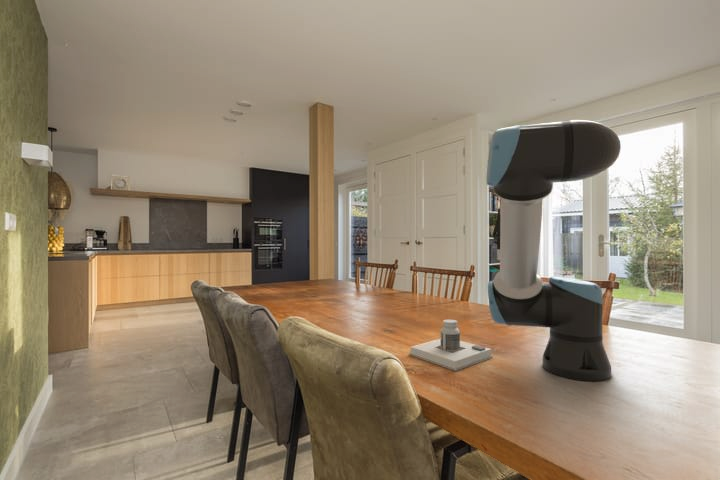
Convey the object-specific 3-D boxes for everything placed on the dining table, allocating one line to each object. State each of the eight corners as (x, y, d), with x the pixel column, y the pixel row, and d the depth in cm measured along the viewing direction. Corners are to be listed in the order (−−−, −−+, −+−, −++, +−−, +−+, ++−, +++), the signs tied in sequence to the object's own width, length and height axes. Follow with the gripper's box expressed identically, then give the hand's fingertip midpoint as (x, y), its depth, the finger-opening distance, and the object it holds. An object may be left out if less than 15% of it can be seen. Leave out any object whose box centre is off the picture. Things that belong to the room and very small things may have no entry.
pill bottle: (463, 354, 105) (463, 320, 105) (453, 359, 101) (453, 324, 101) (447, 350, 109) (447, 317, 109) (436, 354, 105) (436, 321, 105)
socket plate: (492, 357, 104) (492, 346, 104) (455, 371, 94) (455, 359, 94) (446, 344, 117) (446, 334, 117) (409, 354, 107) (409, 344, 107)
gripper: (520, 197, 131) (520, 256, 131) (480, 193, 115) (481, 260, 115) (541, 195, 125) (542, 257, 125) (502, 190, 109) (503, 261, 110)
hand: (512, 258), depth 120 cm, fingers open, 13 cm apart
